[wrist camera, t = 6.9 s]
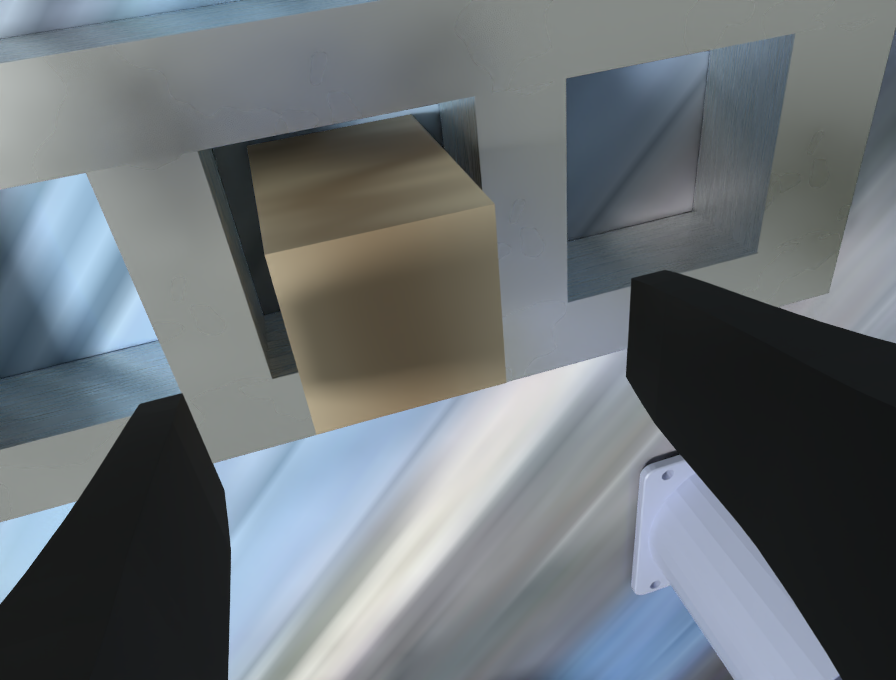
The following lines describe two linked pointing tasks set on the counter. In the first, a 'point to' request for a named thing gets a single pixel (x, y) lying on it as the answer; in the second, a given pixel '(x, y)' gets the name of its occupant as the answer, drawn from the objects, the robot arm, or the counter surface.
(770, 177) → the rail
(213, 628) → the robot arm
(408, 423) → the counter surface
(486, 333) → the peg
